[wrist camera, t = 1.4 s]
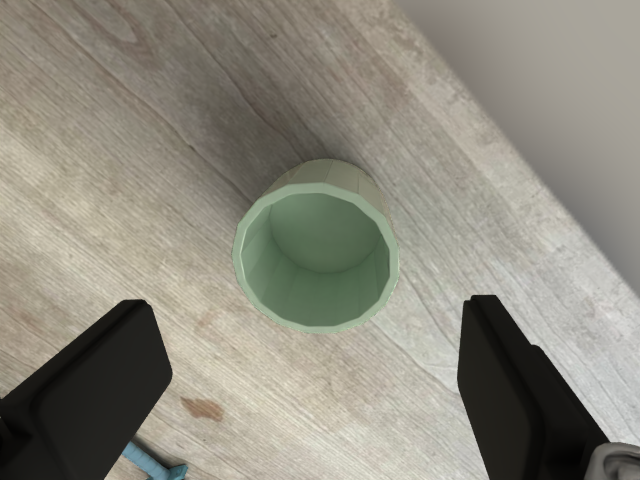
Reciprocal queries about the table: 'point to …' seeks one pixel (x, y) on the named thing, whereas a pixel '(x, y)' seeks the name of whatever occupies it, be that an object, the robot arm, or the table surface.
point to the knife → (152, 465)
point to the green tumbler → (318, 248)
